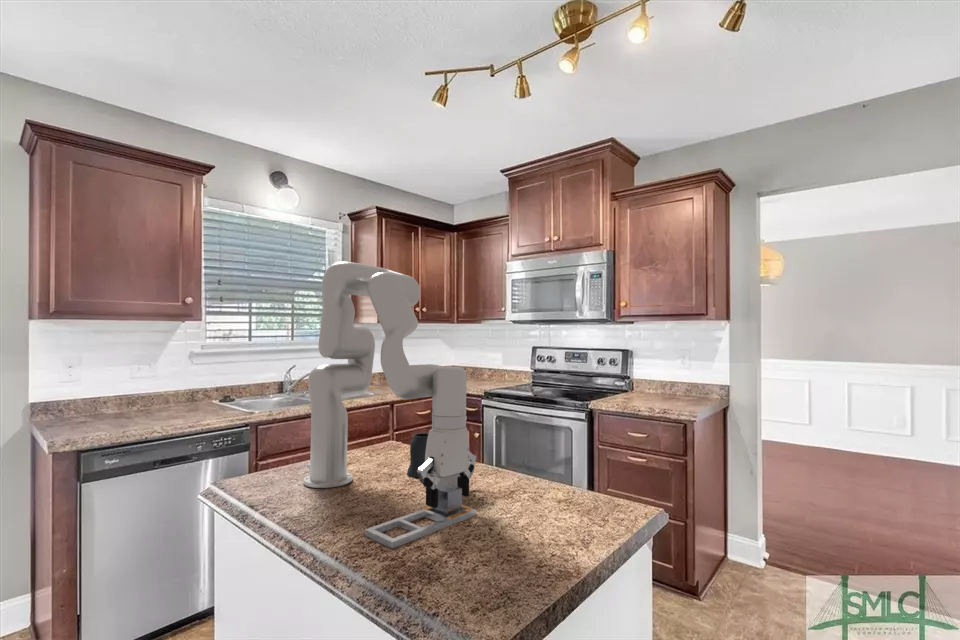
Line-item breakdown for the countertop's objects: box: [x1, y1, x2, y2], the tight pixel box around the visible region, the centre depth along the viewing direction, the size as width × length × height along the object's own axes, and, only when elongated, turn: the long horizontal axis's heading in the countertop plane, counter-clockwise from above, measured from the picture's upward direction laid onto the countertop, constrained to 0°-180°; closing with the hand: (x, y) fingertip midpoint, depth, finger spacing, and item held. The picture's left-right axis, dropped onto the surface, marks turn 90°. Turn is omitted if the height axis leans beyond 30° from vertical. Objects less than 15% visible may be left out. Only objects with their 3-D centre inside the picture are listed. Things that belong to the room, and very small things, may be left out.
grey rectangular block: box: [433, 484, 463, 517], centre depth 105 cm, size 4×4×6 cm
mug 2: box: [406, 432, 429, 480], centre depth 138 cm, size 12×9×11 cm
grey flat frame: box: [364, 504, 476, 550], centre depth 99 cm, size 9×23×1 cm, turn 139°
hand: (447, 500), depth 105 cm, fingers open, 9 cm apart
